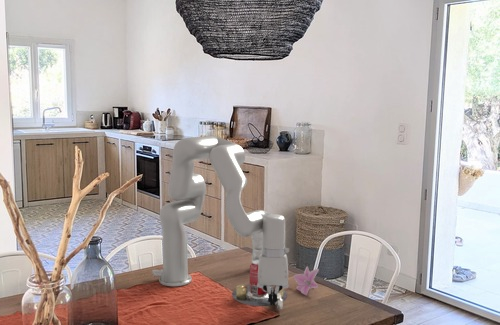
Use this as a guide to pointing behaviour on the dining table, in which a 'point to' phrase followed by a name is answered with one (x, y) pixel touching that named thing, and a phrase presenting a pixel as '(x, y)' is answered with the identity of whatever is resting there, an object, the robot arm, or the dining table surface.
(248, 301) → the plate
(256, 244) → the plastic bottle
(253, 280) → the soda can
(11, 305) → the dining table surface
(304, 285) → the lily
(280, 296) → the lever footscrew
